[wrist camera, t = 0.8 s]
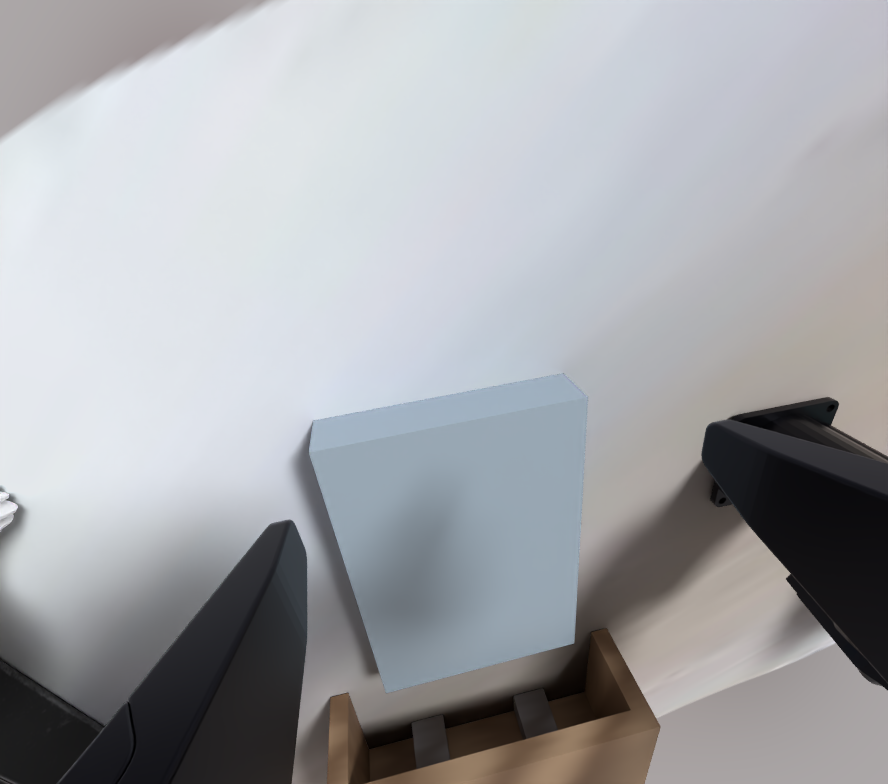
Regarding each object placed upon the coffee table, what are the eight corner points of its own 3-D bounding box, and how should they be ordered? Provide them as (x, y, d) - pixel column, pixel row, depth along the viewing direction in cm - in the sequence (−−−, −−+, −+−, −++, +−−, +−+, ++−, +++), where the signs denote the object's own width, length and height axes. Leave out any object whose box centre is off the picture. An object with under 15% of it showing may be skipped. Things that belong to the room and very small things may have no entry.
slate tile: (559, 368, 22) (587, 397, 19) (554, 601, 30) (574, 643, 28) (314, 415, 20) (308, 452, 18) (382, 645, 29) (386, 693, 26)
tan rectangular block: (606, 628, 32) (660, 726, 26) (597, 694, 36) (642, 791, 31) (330, 697, 29) (325, 821, 24) (355, 759, 34) (356, 877, 28)
